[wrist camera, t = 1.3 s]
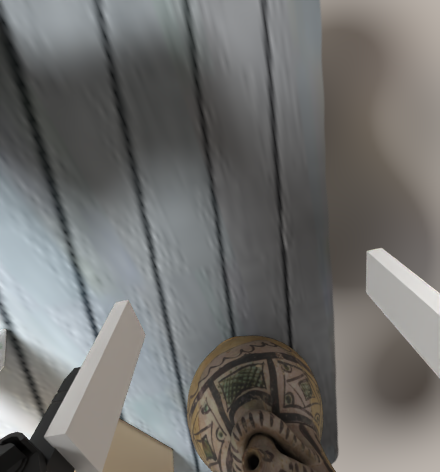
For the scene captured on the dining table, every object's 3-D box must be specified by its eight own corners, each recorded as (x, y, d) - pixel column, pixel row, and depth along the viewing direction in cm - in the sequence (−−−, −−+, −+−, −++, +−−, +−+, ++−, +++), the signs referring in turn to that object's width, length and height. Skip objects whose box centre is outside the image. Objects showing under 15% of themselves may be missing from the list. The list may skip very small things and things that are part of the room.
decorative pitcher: (303, 377, 46) (456, 585, 22) (218, 432, 44) (287, 724, 20) (255, 282, 40) (396, 429, 16) (154, 342, 38) (146, 608, 14)
